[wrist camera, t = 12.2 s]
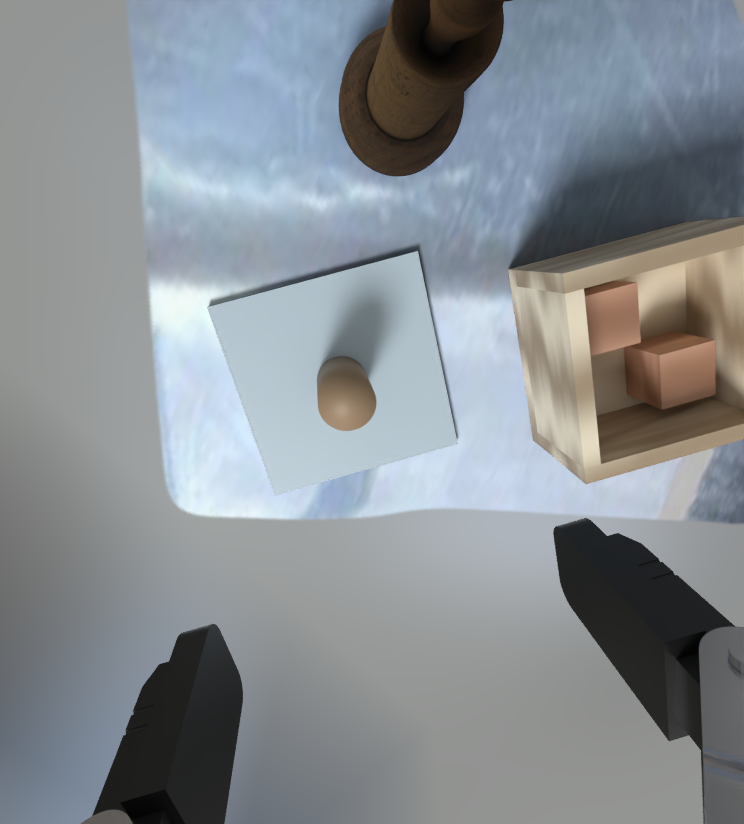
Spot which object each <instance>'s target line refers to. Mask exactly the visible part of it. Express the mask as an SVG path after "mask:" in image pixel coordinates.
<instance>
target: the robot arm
mask: <svg viewBox="0 0 744 824" xmlns="http://www.w3.org/2000/svg"><path fill="white" fill-rule="evenodd" d="M554 541H555V548H556V556H557V562H558V570H559V577H560V583H561V586H562V589H563V592H564V595H565V597H566V599H567V601H568V603H569V605H570V606H571V608H572V609H573V611H574V612H575V613H576V615H577V616H578V618H579V619H580V620H581V622H582V623H583V624H584V626H585V627H586V628H587V630H588V631H589V632H590V634H591V635H592V637H593V638H594V639H595V641H596V642H597V644H598V645H599V646H600V648H601V649H602V650H603V652H604V653H605V654H606V656H607V657H608V659H609V660H610V661H611V663H612V664H613V665H614V667H615V668H616V669H617V671H618V672H619V674H620V675H621V676H622V678H623V679H624V680H625V682H626V683H627V684H628V686H629V687H630V688H631V690H632V691H633V693H634V694H635V695H636V697H637V698H638V699H639V700H640V702H641V704H642V705H643V706H644V708H645V709H646V710H647V712H648V713H649V714H650V716H651V717H652V719H653V720H654V721H655V723H656V724H657V725H658V727H659V728H660V729H661V731H662V732H663V734H664V735H665V736H666V738H667V739H668V740H669V741H671V740H674V739H678V738H681V737H684V736H687V735H689V736H690V737H691V738H692V740H693V741H694V742H695V743H696V745H697V746H698V747H699V749H700V750H701V769H702V797H703V824H744V627H736V626H734V625H733V624H732V623H731V622H729V621H728V620H727V619H726V618H725V617H724V616H723V615H722V614H720V613H719V612H718V611H717V610H716V609H715V608H714V607H713V606H711V605H710V604H709V603H708V602H707V601H706V600H705V599H703V598H702V597H701V596H700V595H699V594H698V593H697V592H695V591H694V590H693V589H692V588H691V587H690V586H689V585H688V584H687V583H685V582H684V581H683V580H682V579H681V578H679V576H677V575H674V573H673V571H672V570H670V568H668V567H667V566H666V565H665V564H664V563H663V562H660V561H659V559H658V558H657V557H656V556H655V555H654V554H653V553H651V552H650V551H649V550H648V549H647V548H646V547H644V546H643V545H642V544H641V543H639V542H637V541H634V540H632V539H630V538H628V537H625V536H623V535H621V534H619V533H617V534H613V535H610V536H606V535H605V534H604V533H603V532H602V531H601V530H600V529H599V528H598V527H597V526H596V525H595V524H594V523H593V522H592V521H591V520H589V519H587V518H584V519H581V520H577V521H574V522H570V523H567V524H564V525H560V526H556V527H555V528H554ZM242 703H243V690H242V682H241V678H240V674H239V672H238V669H237V667H236V665H235V663H234V661H233V658H232V656H231V654H230V652H229V649H228V647H227V645H226V643H225V640H224V638H223V636H222V634H221V632H220V630H219V628H218V627H217V625H215V624H211V625H208V626H204V627H201V628H197V629H194V630H190V631H187V632H183V633H181V634H180V635H179V636H178V638H177V640H176V643H175V646H174V649H173V652H172V655H171V658H170V660H169V662H166V663H162V664H159V665H158V667H157V668H156V670H155V671H154V672H153V673H152V675H151V676H150V678H149V679H148V680H147V681H146V683H145V684H144V686H143V687H142V689H141V692H140V694H139V697H138V700H137V702H136V705H135V707H134V710H133V712H134V714H133V715H132V716H131V718H130V720H129V723H128V725H127V728H126V735H124V736H123V738H122V741H121V743H120V746H119V748H118V751H117V754H116V757H115V759H114V761H113V764H112V766H111V769H110V772H109V774H108V777H107V780H106V782H105V785H104V787H103V790H102V793H101V795H100V797H99V800H98V803H97V805H96V808H95V810H94V813H93V815H92V817H90V818H88V819H87V820H85V821H84V822H82V823H81V824H224V822H225V816H226V809H227V802H228V796H229V789H230V783H231V776H232V769H233V763H234V756H235V750H236V743H237V736H238V729H239V723H240V717H241V710H242Z"/></svg>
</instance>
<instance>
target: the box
mask: <svg viewBox="0 0 744 824" xmlns="http://www.w3.org/2000/svg"><path fill="white" fill-rule="evenodd" d="M508 272H509V279H510V285H511V292H512V299H513V306H514V313H515V319H516V326H517V333H518V340H519V347H520V353H521V360H522V367H523V374H524V381H525V388H526V394H527V401H528V408H529V415H530V422H531V428H532V435H533V440H534V441H535V442H536V443H537V444H538V445H540V446H541V447H542V448H543V449H544V450H546V451H547V452H548V453H549V454H550V455H552V456H553V457H554V458H555V459H556V460H558V461H559V462H560V463H561V464H562V465H564V466H565V467H566V468H567V469H568V470H570V471H571V472H572V473H573V474H574V475H576V476H577V477H578V478H579V479H580V480H582V481H583V482H584V483H585V484H588V483H592V482H595V481H599V480H602V479H606V478H609V477H613V476H616V475H620V474H623V473H627V472H630V471H634V470H637V469H641V468H644V467H648V466H651V465H655V464H658V463H662V462H665V461H669V460H672V459H676V458H679V457H683V456H686V455H690V454H693V453H697V452H700V451H704V450H707V449H711V448H714V447H718V446H721V445H725V444H728V443H732V442H735V441H739V440H742V439H744V217H734V218H723V219H712V220H700V221H689V222H684V223H680V224H677V225H673V226H669V227H665V228H662V229H658V230H654V231H651V232H647V233H643V234H639V235H636V236H632V237H628V238H624V239H621V240H617V241H613V242H609V243H606V244H602V245H598V246H594V247H591V248H587V249H583V250H580V251H576V252H572V253H568V254H565V255H561V256H557V257H553V258H550V259H546V260H542V261H538V262H535V263H531V264H527V265H524V266H520V267H516V268H512V269H509V270H508ZM614 280H616V281H628V282H637V287H638V303H639V320H640V336H641V340H644V339H647V338H651V337H654V336H658V335H662V334H665V333H669V332H673V331H675V332H679V333H684V334H689V335H694V336H698V337H703V338H708V339H713V340H715V382H716V395H712V396H709V397H705V398H702V399H698V400H695V401H691V402H688V403H684V404H681V405H677V406H673V407H670V408H666V409H663V410H662V409H660V408H657V407H655V406H653V405H650V404H648V403H646V402H644V401H641V400H639V399H637V398H635V397H632V396H630V395H628V394H627V386H626V373H625V359H624V347H622V348H619V349H615V350H612V351H608V352H604V353H601V354H597V355H593V356H590V346H589V336H588V325H587V315H586V305H585V295H584V289H585V288H588V287H592V286H596V285H599V284H603V283H607V282H610V281H614Z"/></svg>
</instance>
